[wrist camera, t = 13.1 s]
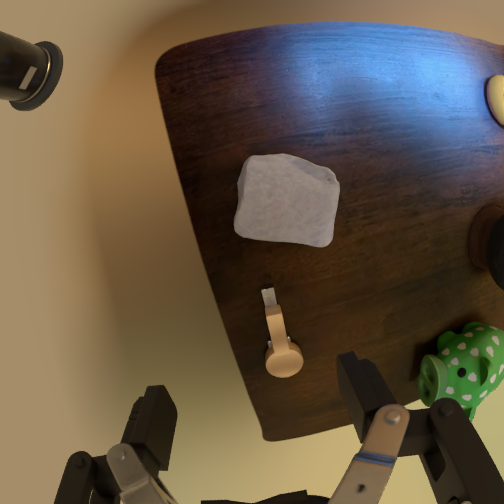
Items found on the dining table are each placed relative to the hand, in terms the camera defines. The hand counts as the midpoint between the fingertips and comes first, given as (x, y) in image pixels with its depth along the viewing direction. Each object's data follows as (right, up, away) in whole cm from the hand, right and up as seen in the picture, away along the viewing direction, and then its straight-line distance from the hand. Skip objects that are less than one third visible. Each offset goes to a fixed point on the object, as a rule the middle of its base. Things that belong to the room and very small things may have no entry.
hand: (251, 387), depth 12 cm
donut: (+42, +31, +18) cm, 55 cm away
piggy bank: (+37, -11, +31) cm, 50 cm away
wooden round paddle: (+4, -6, +27) cm, 28 cm away
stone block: (+4, +13, +23) cm, 26 cm away
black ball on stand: (+40, +9, +25) cm, 48 cm away
